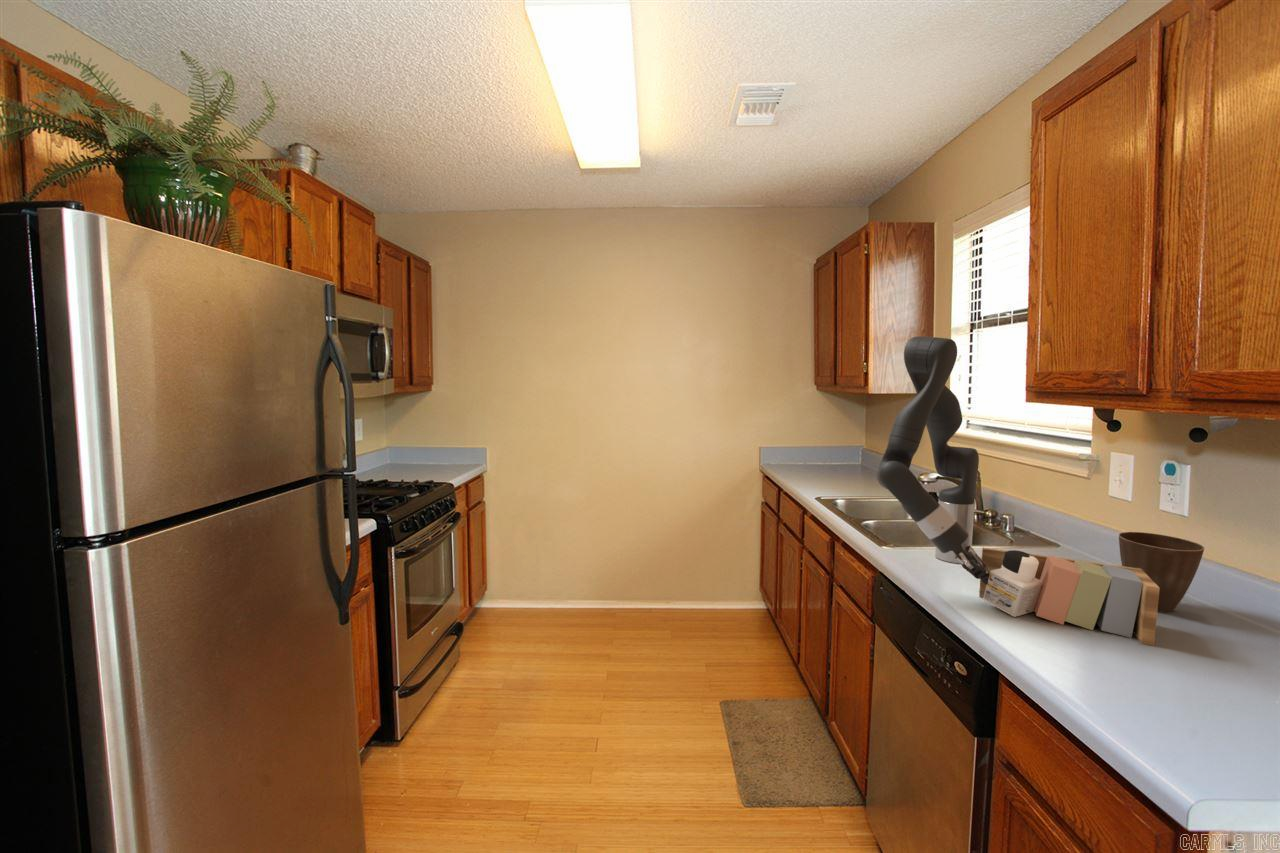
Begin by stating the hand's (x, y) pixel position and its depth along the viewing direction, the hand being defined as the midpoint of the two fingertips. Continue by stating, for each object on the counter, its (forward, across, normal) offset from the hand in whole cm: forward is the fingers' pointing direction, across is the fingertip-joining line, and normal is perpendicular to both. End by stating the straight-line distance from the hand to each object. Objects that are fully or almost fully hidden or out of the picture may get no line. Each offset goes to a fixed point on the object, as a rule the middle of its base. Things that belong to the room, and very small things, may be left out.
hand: (996, 588), depth 134 cm
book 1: (+10, +1, -4) cm, 11 cm away
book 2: (+13, +1, -8) cm, 16 cm away
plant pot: (+26, +21, -20) cm, 39 cm away
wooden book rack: (+12, +1, -5) cm, 13 cm away
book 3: (+18, +1, -12) cm, 22 cm away
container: (+4, 0, +1) cm, 5 cm away
